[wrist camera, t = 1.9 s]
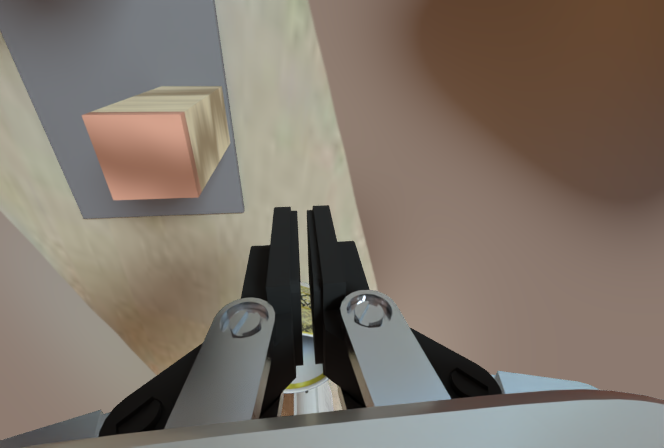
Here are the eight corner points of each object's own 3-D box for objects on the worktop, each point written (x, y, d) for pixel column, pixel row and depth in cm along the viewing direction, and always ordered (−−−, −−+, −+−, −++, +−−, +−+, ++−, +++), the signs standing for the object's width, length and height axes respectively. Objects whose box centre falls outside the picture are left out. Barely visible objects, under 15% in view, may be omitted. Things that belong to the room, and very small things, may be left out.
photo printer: (290, 362, 48) (289, 453, 38) (316, 355, 48) (324, 444, 37) (309, 398, 53) (314, 487, 43) (334, 391, 53) (344, 479, 43)
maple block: (161, 86, 27) (81, 115, 17) (221, 86, 27) (179, 114, 17) (175, 143, 29) (113, 200, 19) (230, 143, 30) (198, 197, 20)
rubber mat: (-20, -29, 23) (-27, -31, 22) (211, -21, 24) (209, -22, 24) (86, 215, 33) (83, 218, 32) (244, 209, 34) (243, 212, 34)
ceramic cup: (313, 258, 39) (319, 320, 30) (338, 311, 44) (350, 377, 35) (217, 291, 40) (196, 361, 31) (252, 339, 45) (243, 411, 36)
